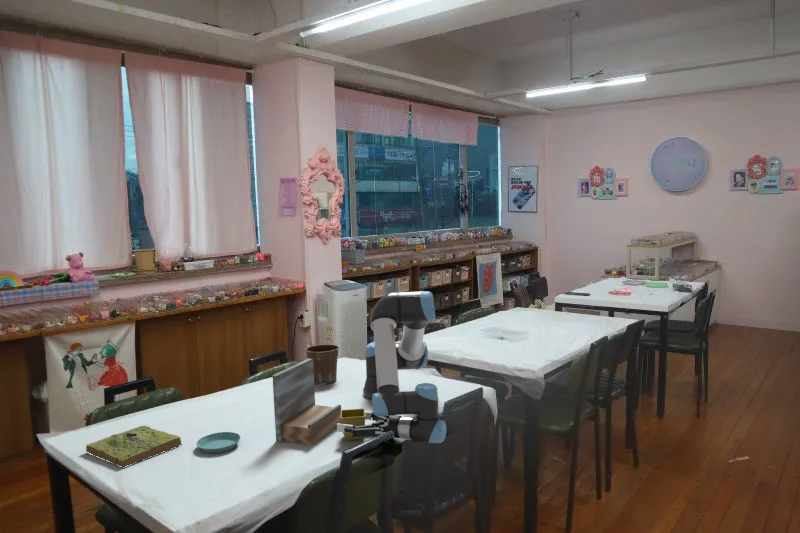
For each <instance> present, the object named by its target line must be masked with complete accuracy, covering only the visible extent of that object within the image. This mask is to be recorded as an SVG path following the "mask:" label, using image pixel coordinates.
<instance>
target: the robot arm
mask: <svg viewBox="0 0 800 533" xmlns="http://www.w3.org/2000/svg"><path fill="white" fill-rule="evenodd" d="M435 321H436V312H435V303H434V296H433V292H431V291H428V290H427V291H425V290H419V291H418V290H417V291H401V292H399V291H398V292H390V293H386V294H385V295H383V296H382V297H381V298H380V299H379V300H377V302H376V304H375V305H374V307H373V309H372V311H371V314H370V324H369V325H370V329H371V331H372V332H373V341H372V342H370V343H368V344H367V345H366V347H365V353H364V354H365V355H364V356H365V365H366V366H365V370H366V372H365V373H366V374H365V375H366V378H365V383H364V386H363V390H362V396H363V397H364V398H367V399H370V400H371V401H372V402H371V403H372V411H365V421H366V420H367V421H372V423H369V424H365V425H363V426H356V427H355V425H348V424H340V423H337V427H336V431H337V432H338V433H343V432H345V433H352V437H362V438H363V437H380V436H379V435H381V434H382V433H383V434H384V433H387V432H388V431H391V430H392V431H393V432H394V438H393V439H401V440H402V439H403V440H408V441H409V442H410V441H416V442H417V441H418V442H425V443H429V444H441V443H443V442H444V441H445V439H446V435H447V424H446V421H445V420H441V419H440V416H439V396H438V395H439V393H438V387H437V385H436V384H433V383H431V382H430V383H429V382H428V383H427V382H424V383H423V382H422V383H419V384H418V383H417V385H416V386H415V388H414V390H411V391H410V390H408V391H407V390H406V391H400V384H399V383H400V380H399V371H403V370H404V371H406V370H421V369H424V368H426V366H427V364H428V359H429V358H428V357H429V351H428V345H427V343H426V342H425V341H423V340H424V336H425V328H426V327H427V326H428V325H429V324H430V323H433V322H435ZM397 324H403V328H402V337H401V340H399V343H398V342H396V336H395V329H396V328H397ZM402 415H403V416H402ZM407 415H416V416H415V417H414V416H407ZM373 421H374V422H373Z"/></svg>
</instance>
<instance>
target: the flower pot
mask: <svg viewBox="0 0 800 533" xmlns="http://www.w3.org/2000/svg"><path fill="white" fill-rule="evenodd" d="M365 412H366V409H365V408H353V409H352V408H349V409H341V416H340V419H341V424H348V425H355V427H356V426H363V425H366V419H365ZM342 434H343V436H344V438H345V439H346V441H350V440H351V441H352V440H354V441H355V440H361V439H362V438H363V437H352V433H345V432H342Z"/></svg>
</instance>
